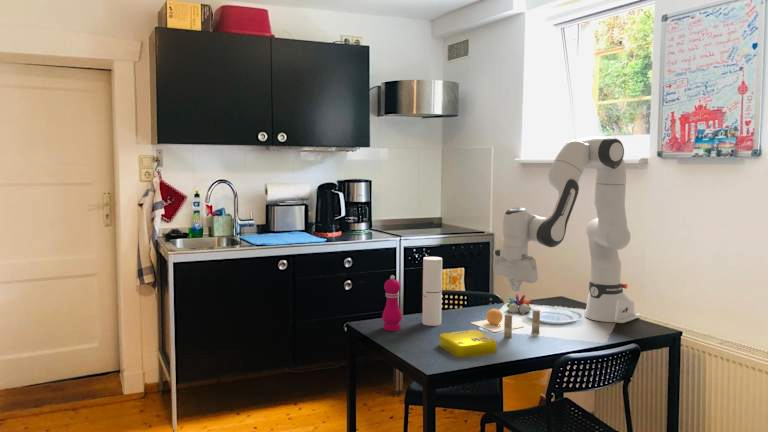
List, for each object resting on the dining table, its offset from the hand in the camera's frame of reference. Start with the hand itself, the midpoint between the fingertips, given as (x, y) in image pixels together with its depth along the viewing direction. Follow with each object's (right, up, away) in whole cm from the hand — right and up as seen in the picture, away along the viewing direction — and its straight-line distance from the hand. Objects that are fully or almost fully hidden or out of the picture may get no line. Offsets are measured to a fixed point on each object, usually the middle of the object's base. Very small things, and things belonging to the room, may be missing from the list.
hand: (515, 290), depth 242 cm
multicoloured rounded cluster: (+7, -12, +30) cm, 33 cm away
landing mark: (-5, -14, +9) cm, 18 cm away
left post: (-4, -16, -6) cm, 17 cm away
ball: (-6, -11, +10) cm, 16 cm away
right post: (+8, -15, +1) cm, 17 cm away
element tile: (-20, -18, -19) cm, 32 cm away
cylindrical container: (-29, -14, +12) cm, 35 cm away
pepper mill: (-45, -15, +4) cm, 47 cm away
